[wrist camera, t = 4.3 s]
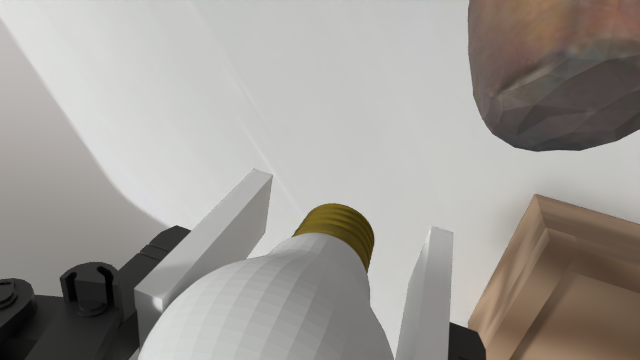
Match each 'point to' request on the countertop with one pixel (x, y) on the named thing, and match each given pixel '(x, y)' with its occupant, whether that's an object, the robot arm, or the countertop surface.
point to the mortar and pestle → (556, 70)
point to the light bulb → (282, 301)
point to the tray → (564, 288)
